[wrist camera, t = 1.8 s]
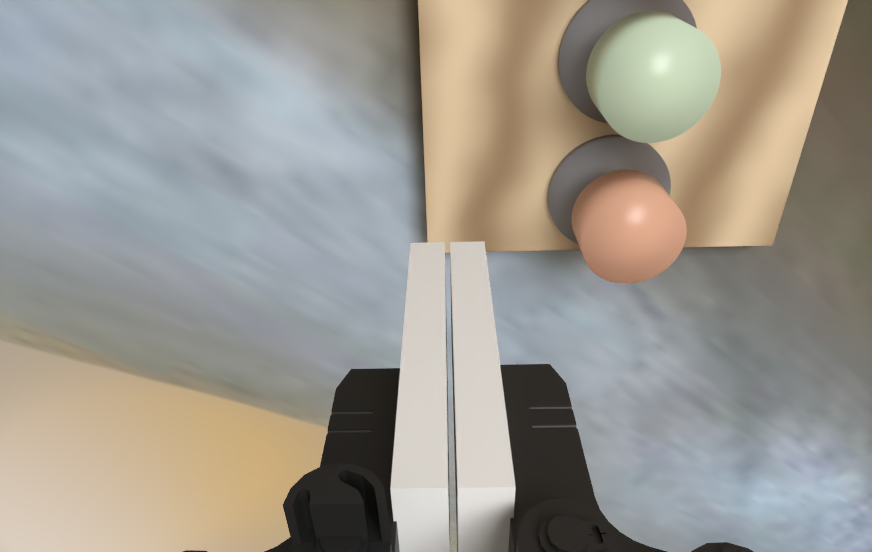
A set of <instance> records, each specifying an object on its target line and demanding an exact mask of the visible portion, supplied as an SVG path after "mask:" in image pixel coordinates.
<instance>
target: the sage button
mask: <svg viewBox="0 0 872 552" xmlns="http://www.w3.org/2000/svg"><path fill="white" fill-rule="evenodd" d="M720 79H721V63H720V58H719V55H718V52H717V50H716V47H715V46H714V44H713V43H712V41H711V40H710V39H709V38H708V36H707V35H706V34H704V33H703V32H702V31H700V30H699V29H697V28H695V27H693V26H691V25H690V24H688V23H686V22H684V21H682V20H680V19H679V18H677V17H675V16H673V15H671V14H668V13H666V12H661V11H652V10H649V11H641V12H637V13H633V14H631V15H628V16H626V17H624V18H622V19H620V20H618V21H617V22H616V23H614V24H613V25H612V26H610V27H609V28H608V29H607V30H606V31H605V32H604V33H603V34H602V35H601V37H600V38H599V40H598V41H597V42H596V44H595V46H594V48H593V50H592V52H591V54H590V57H589V60H588V64H587V70H586V83H587V88H588V92H589V95H590V97H591V99H592V101H593V103H594V104H595V106H596V107H597V108H598V110H599V111H600V112H601V114H602V115H603V117H604V118H605V119H606V121H607V122H608V123H609V125H610V126H611V127H612V128H613V129H614V130H615V131H616V132H617V133H618V134H620V135H621V136H623V137H625V138H627V139H629V140H632V141H636V142H641V143H656V142H662V141H666V140H669V139H672V138H674V137H677V136H679V135H681V134H682V133H684V132H686V131H687V130H689V129H690V128H691V127H693V126H694V125H695V124H696V123H697V122H698V121H699V120H700V119H701V118H702V117H703V116H704V115H705V114H706V112H707V111H708V109H709V108H710V107H711V105H712V103H713V101H714V99H715V97H716V94H717V92H718V88H719V85H720Z"/></svg>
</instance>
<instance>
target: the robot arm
mask: <svg viewBox="0 0 872 552" xmlns="http://www.w3.org/2000/svg"><path fill="white" fill-rule="evenodd" d="M450 261H451V324H452V368H453V405H454V442H455V480H456V517H457V552H666V551H662V550H659V549H656V548H652V547H649V546H646V545H644V544H641V543H638V542H636V541H633V540H632V539H630V538H629V537H627V536H625V535H624V534H622V533H621V532H619V531H618V530H617V529H616V528H615V527H614V526H613V525H612V524H610V523H609V522H608V520H607V519H606V518H605V516H604V515H603V513H602V512H601V511H600V509H599V506H598V504H597V501H596V499H595V496H594V492H593V488H592V484H591V480H590V476H589V472H588V468H587V464H586V460H585V456H584V453H583V449H582V445H581V441H580V437H579V433H578V429H576V421H575V417H574V413H573V410H572V408H571V406H572V405H571V402H570V398H569V394H568V390H567V386H566V383H565V382H564V380H563V379H562V378H561V377H560V376H559V375H558V373H557V372H556V371H555V370H554V369H553V368H552V366H551V365H550V364H527V365H500V360H499V352H498V344H497V336H496V328H495V321H494V313H493V305H492V297H491V289H490V281H489V273H488V265H487V257H486V250H485V242H484V241H481V242H450ZM283 508H284V512H285V516H286V520H287V524H288V528H289V532H290V536H291V537H290V538H289V539H287V540H286V541H284V542H283V543H281V544H280V545H278V546H277V547H275V548H273V549H270V550H267V551H265V552H450V514H449V450H448V387H447V328H446V281H445V242H432V243H410V255H409V267H408V279H407V292H406V304H405V316H404V328H403V340H402V352H401V365H400V368H391V369H351V370H350V371H349V373H348V374H347V375H346V377H345V378H344V379H343V381H342V382H341V383H340V384H339V386H338V387H337V388H336V392H335V397H334V402H333V406H332V415H331V416H330V421H329V426H328V434H327V436H326V441H325V445H324V450H323V455H322V460H321V465H320V467H319V468H317V469H315V470H313V471H311V472H309V473H307V474H305V475H304V476H303V477H302V478H301V479H300V480H299V481H298V482H297V483H296V484H295V485H294V486H293V487H292V488H291V489H290V491H289V493H288V495H287V498H286V499H285V501H284V504H283ZM184 552H207V551H184ZM692 552H753V551H752V550H750V549H748V548H745V547H741V546H738V545H734V544H731V543H727V542H724V543H707V544H705V545H703V546H701V547H699V548H697V549H695V550H693V551H692Z"/></svg>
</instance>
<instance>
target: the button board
mask: <svg viewBox="0 0 872 552" xmlns="http://www.w3.org/2000/svg"><path fill="white" fill-rule="evenodd" d="M847 1H848V0H418V14H419V39H420V64H421V89H422V114H423V140H424V165H425V190H426V215H427V240H428V243H432V242H445V253H450V242H481V241H484V242H485V250H486V252H496V251H540V250H581V249H580V247H579V244H578V242H577V239H576V237H575V234H574V231H573V228H572V222H571V217H572V210H573V207H574V204H575V202H576V200H577V198H578V196H579V195H580V193H581V192H582V191H583V190H584V188H585V187H586V186H588V185H589V184H590V183H591V182H592V181H594V180H595V179H597V178H598V177H600V176H602V175H604V174H607V173H610V172H613V171H618V170H637V171H641V172H644V173H647V174H649V175H651V176H652V177H654V178H655V179H656V180H657V181H658V182H659V183H660V184H661V185H662V186H663V188H664V189H665V190H666V192H667V193H668V194H669V196H670V197H671V198H672V200H673V201H674V202H675V204H676V205H677V206H678V208H679V209H680V210H681V212H682V214H683V216H684V218H685V221H686V227H687V234H686V240H685V243H684V246H683V247H718V246H762V245H773V242H774V239H775V235H776V232H777V229H778V226H779V222H780V219H781V216H782V213H783V209H784V206H785V203H786V200H787V196H788V193H789V190H790V187H791V183H792V180H793V177H794V174H795V170H796V167H797V164H798V161H799V157H800V154H801V151H802V148H803V144H804V141H805V138H806V135H807V131H808V128H809V125H810V122H811V118H812V115H813V112H814V109H815V105H816V102H817V99H818V96H819V92H820V89H821V86H822V83H823V79H824V76H825V73H826V70H827V66H828V63H829V60H830V57H831V53H832V50H833V47H834V44H835V40H836V37H837V34H838V31H839V27H840V24H841V21H842V18H843V14H844V11H845V8H846V5H847ZM649 10H652V11H661V12H666V13H668V14H671V15H673V16H675V17H677V18H679V19H680V20H682V21H684V22H686V23H688V24H690V25H691V26H693V27H695V28H697V29H699V30H700V31H702V32H703V33H704V34H706V35H707V36H708V38H709V39H710V40H711V41H712V43H713V44H714V46H715V47H716V50H717V52H718V55H719V58H720V63H721V79H720V85H719V88H718V92H717V94H716V97H715V99H714V101H713V103H712V105H711V107H710V108H709V109H708V111H707V112H706V114H705V115H704V116H703V117H702V118H701V119H700V120H699V121H698V122H697V123H696V124H695V125H694V126H693V127H691V128H690V129H689V130H687V131H686V132H684V133H682V134H681V135H679V136H677V137H674V138H672V139H669V140H666V141H662V142H656V143H641V142H636V141H632V140H629V139H627V138H625V137H623V136H621V135H620V134H618V133H617V132H616V131H615V130H614V129H613V128H612V127H611V126H610V125H609V123H608V122H607V121H606V119H605V118H604V117H603V115H602V114H601V112H600V111H599V110H598V108H597V107H596V106H595V104H594V103H593V101H592V99H591V97H590V95H589V92H588V88H587V83H586V70H587V64H588V60H589V57H590V54H591V52H592V50H593V48H594V46H595V44H596V42H597V41H598V40H599V38H600V37H601V35H602V34H603V33H604V32H605V31H606V30H607V29H608V28H609V27H610V26H612V25H613V24H614V23H616V22H617V21H618V20H620V19H622V18H624V17H626V16H628V15H631V14H633V13H637V12H641V11H649Z"/></svg>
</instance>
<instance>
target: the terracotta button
mask: <svg viewBox="0 0 872 552" xmlns="http://www.w3.org/2000/svg"><path fill="white" fill-rule="evenodd" d="M571 222H572V228H573V231H574V234H575V237H576V239H577V242H578V244H579V247H580V249H581V252H582V254H583V257H584V259H585V261H586V263H587V265H588V266H589V268H590V269H591V270H592V271H593V272H594V273H595V274H596V275H598V276H599V277H601V278H603V279H605V280H608V281H611V282H616V283H635V282H640V281H644V280H647V279H650V278H652V277H654V276H656V275H658V274H660V273H661V272H663V271H664V270H665V269H667V268H668V267H669V266H670V265H671V264H672V263H673V262H674V261H675V260H676V258H677V257H678V256H679V254H680V252H681V251H682V248H683V246H684V243H685V240H686V234H687V227H686V221H685V218H684V216H683V214H682V212H681V210H680V209H679V208H678V206H677V205H676V204H675V202H674V201H673V200H672V198H671V197H670V196H669V194H668V193H667V192H666V190H665V189H664V188H663V186H662V185H661V184H660V183H659V182H658V181H657V180H656V179H655V178H654V177H652V176H651V175H649V174H647V173H644V172H641V171H637V170H618V171H613V172H610V173H607V174H604V175H602V176H600V177H598V178H597V179H595V180H594V181H592V182H591V183H590V184H589V185H588V186H586V187H585V188H584V190H583V191H582V192H581V193H580V195H579V196H578V198H577V200H576V202H575V204H574V207H573V210H572V217H571Z"/></svg>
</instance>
